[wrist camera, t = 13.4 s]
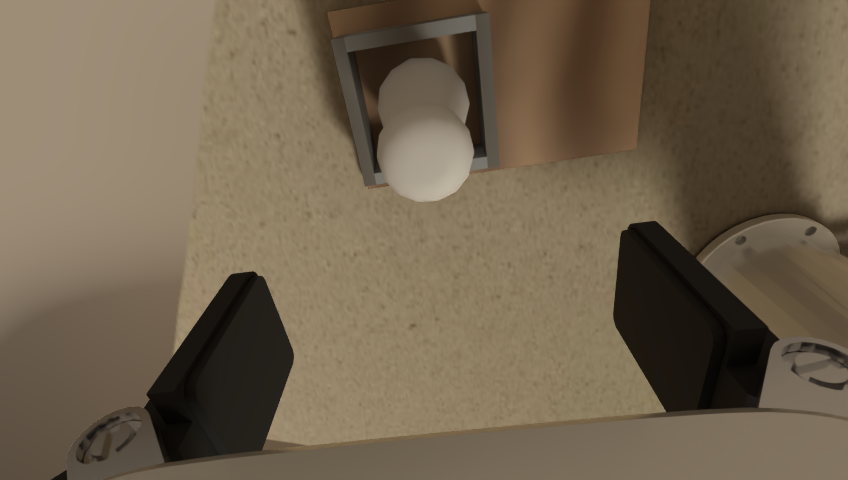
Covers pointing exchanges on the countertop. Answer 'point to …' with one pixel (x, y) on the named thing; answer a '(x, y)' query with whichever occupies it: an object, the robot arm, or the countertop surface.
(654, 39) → the countertop surface
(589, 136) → the shaker caddy
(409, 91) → the salt shaker
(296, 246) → the countertop surface
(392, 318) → the countertop surface
